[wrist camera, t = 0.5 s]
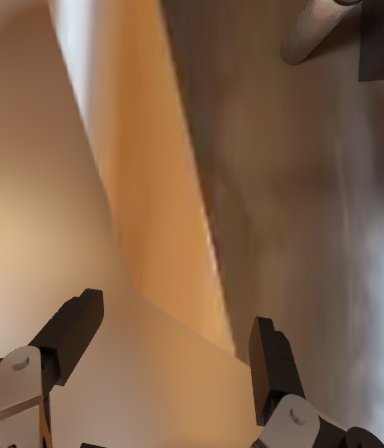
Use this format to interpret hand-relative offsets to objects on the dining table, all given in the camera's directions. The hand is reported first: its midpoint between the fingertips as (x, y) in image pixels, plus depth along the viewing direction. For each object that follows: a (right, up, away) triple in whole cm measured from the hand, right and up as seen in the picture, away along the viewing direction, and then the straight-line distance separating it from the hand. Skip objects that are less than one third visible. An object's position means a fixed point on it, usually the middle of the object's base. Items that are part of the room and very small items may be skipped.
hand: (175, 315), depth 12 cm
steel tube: (+14, +27, +18) cm, 36 cm away
